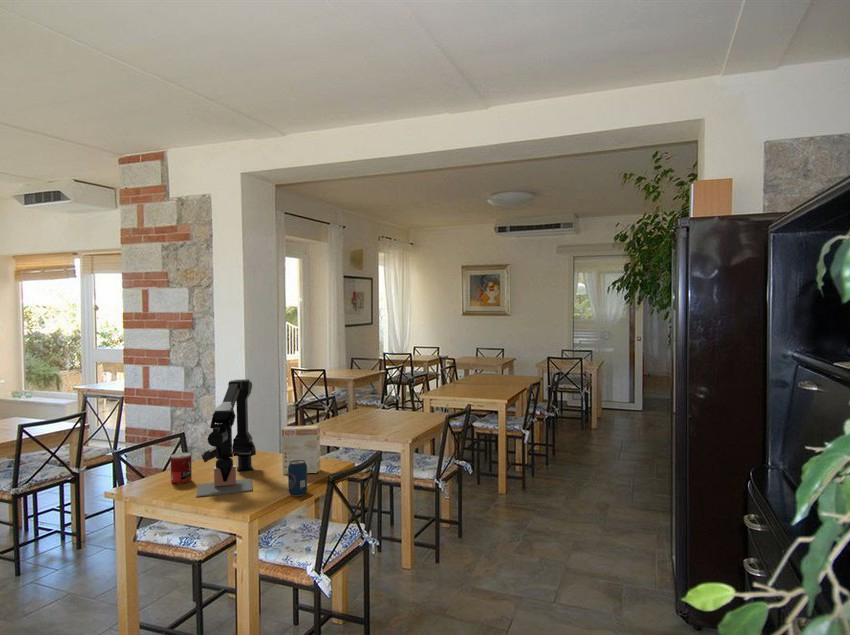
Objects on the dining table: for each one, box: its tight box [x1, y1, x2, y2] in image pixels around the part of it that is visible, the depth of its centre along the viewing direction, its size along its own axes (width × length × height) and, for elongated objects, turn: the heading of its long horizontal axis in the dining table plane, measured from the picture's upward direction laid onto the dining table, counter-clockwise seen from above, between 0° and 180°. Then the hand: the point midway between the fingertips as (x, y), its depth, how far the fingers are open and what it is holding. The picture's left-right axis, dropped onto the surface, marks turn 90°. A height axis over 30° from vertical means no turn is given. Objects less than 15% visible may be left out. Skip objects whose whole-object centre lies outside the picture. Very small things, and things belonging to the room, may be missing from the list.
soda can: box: [287, 460, 308, 497], centre depth 211 cm, size 7×7×12 cm
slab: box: [213, 464, 237, 487], centre depth 221 cm, size 3×8×7 cm, turn 109°
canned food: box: [170, 452, 193, 484], centre depth 230 cm, size 8×8×11 cm
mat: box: [195, 478, 254, 498], centre depth 219 cm, size 16×20×1 cm
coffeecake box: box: [281, 425, 322, 475], centre depth 241 cm, size 15×7×20 cm, turn 89°
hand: (225, 480), depth 221 cm, fingers closed on slab, 3 cm apart
